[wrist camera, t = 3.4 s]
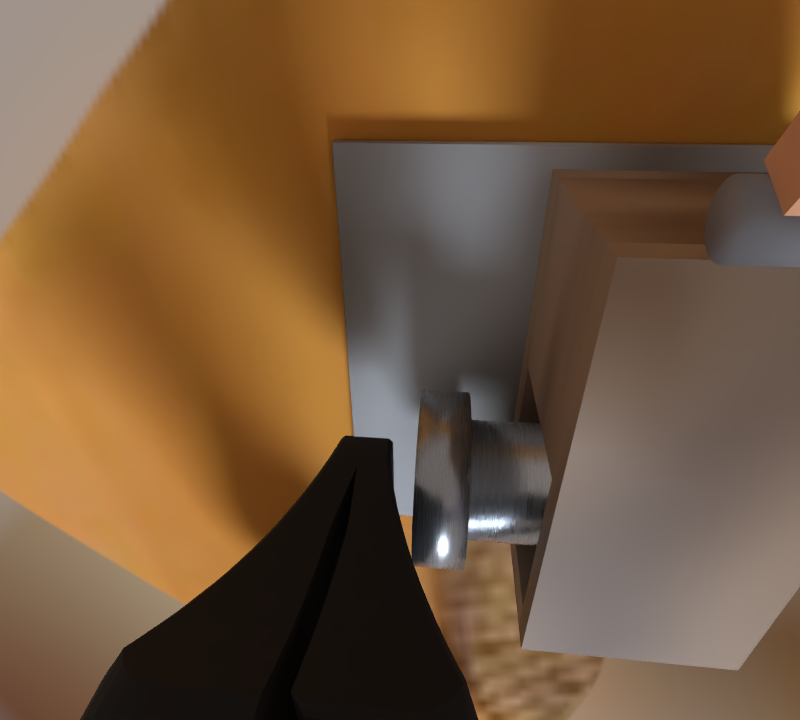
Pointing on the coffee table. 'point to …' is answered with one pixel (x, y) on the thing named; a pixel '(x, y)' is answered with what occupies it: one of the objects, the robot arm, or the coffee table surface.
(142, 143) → the coffee table surface
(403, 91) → the coffee table surface
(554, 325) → the block
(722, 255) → the block
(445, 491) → the pin
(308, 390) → the coffee table surface
